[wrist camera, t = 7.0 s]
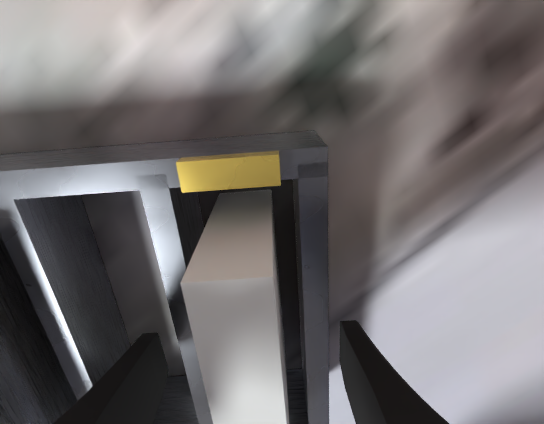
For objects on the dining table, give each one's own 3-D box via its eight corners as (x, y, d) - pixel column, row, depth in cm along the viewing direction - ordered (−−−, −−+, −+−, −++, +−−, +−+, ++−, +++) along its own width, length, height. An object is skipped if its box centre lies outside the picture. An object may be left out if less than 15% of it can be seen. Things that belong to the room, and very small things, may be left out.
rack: (313, 130, 13) (344, 166, 8) (319, 379, 19) (339, 501, 14) (-79, 160, 14) (-313, 215, 8) (44, 395, 20) (-45, 519, 14)
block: (271, 188, 14) (272, 276, 8) (285, 349, 18) (293, 495, 12) (219, 193, 15) (180, 283, 8) (244, 352, 18) (231, 499, 12)
